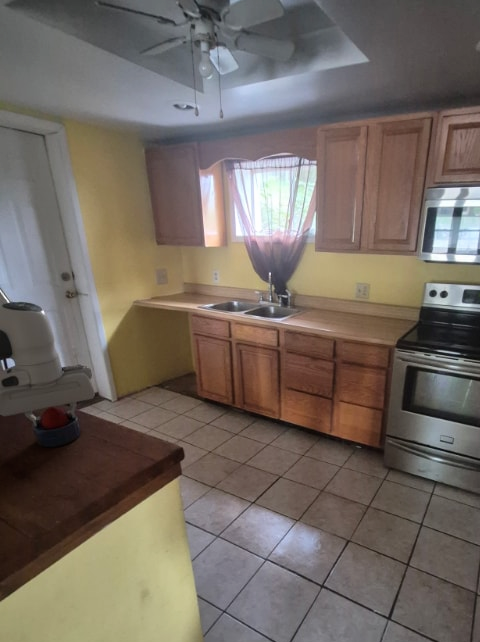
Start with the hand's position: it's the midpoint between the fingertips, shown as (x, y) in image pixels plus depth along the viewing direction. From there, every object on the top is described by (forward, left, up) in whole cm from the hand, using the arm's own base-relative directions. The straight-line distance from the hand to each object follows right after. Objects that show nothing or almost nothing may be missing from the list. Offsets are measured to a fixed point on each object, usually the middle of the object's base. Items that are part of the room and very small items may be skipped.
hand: (55, 421), depth 94 cm
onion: (0, 0, -4) cm, 4 cm away
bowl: (0, 0, -5) cm, 5 cm away
